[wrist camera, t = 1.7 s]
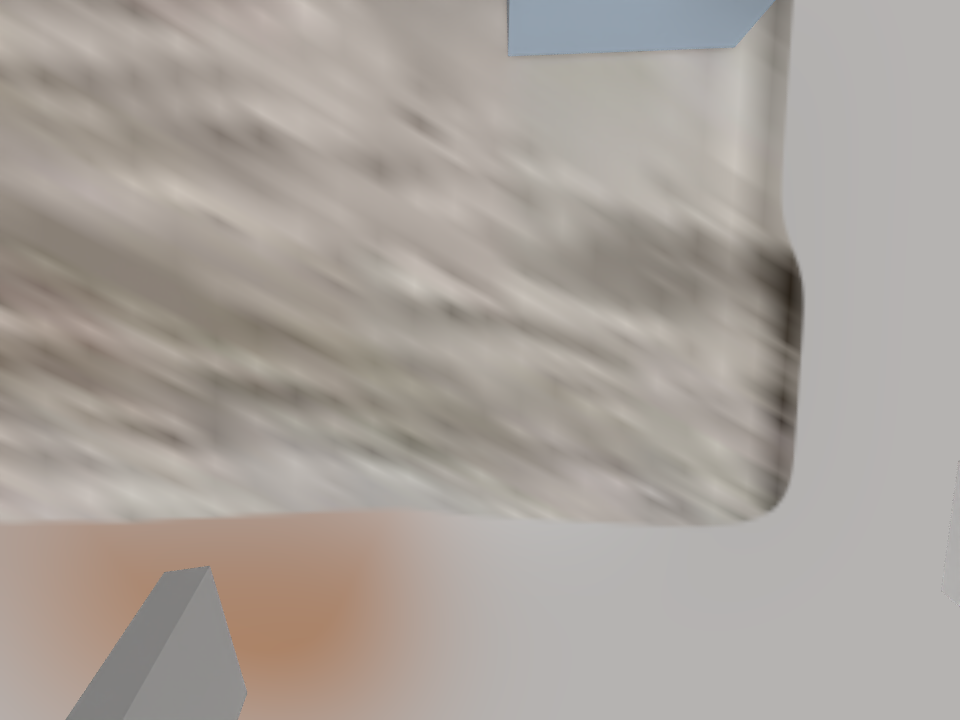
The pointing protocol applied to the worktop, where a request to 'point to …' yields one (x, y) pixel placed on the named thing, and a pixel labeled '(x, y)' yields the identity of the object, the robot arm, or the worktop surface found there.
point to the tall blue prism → (627, 25)
